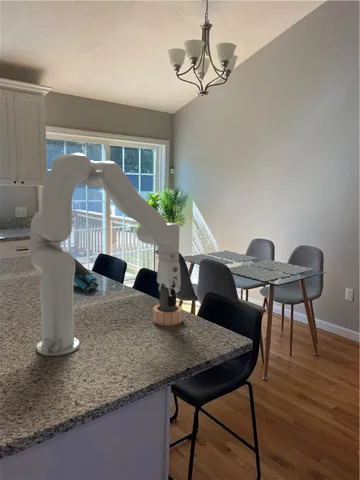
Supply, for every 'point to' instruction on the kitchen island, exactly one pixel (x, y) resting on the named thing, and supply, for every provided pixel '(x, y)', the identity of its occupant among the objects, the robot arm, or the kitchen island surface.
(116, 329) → the kitchen island surface
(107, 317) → the kitchen island surface
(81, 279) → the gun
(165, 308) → the bottle
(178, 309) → the segmented wooden bowl
